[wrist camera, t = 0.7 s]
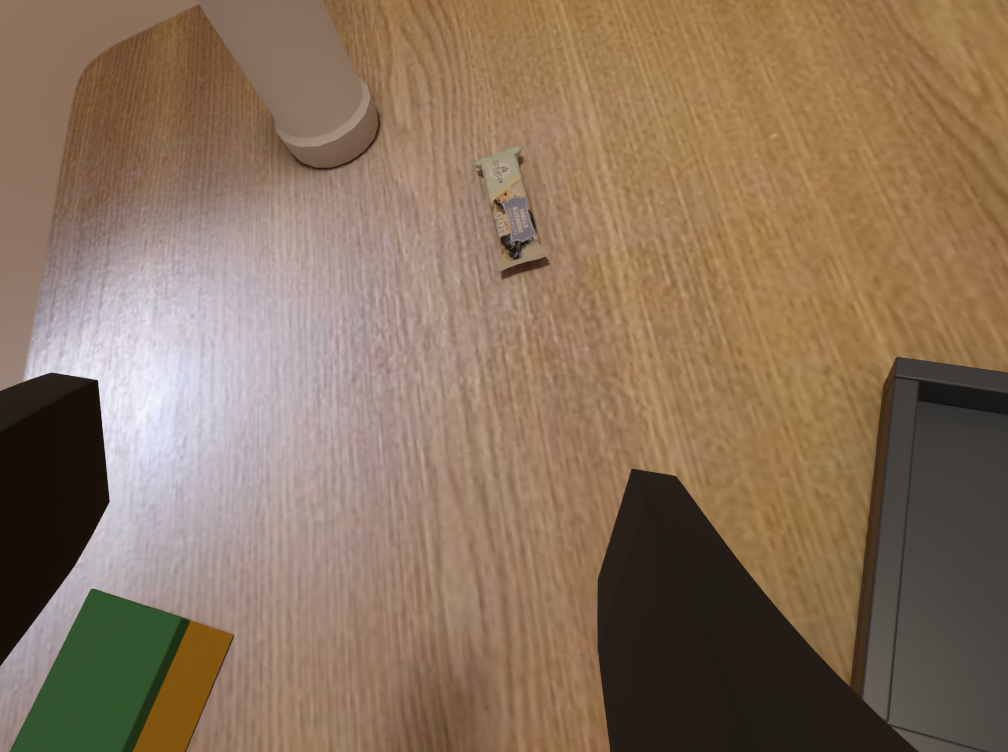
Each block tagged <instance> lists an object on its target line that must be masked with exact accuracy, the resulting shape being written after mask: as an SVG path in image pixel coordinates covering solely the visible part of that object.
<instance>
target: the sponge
mask: <svg viewBox="0 0 1008 752" xmlns="http://www.w3.org/2000/svg"><path fill="white" fill-rule="evenodd" d="M232 637H233V635H232V634H229V633H227V632H224V631H221V630H218V629H215V628H212V627H209V626H206V625H203V624H200V623H197V622H194V621H191V620H189V619H186V618H183V617H180V616H177V615H173V614H170V613H167V612H164V611H161V610H158V609H155V608H152V607H149V606H145V605H142V604H139V603H136V602H133V601H130V600H127V599H124V598H121V597H117V596H114V595H111V594H108V593H105V592H102V591H99V590H96V589H91V590H90V592H89V594H88V596H87V598H86V600H85V602H84V604H83V606H82V608H81V610H80V612H79V614H78V616H77V618H76V620H75V622H74V624H73V626H72V628H71V630H70V632H69V634H68V636H67V638H66V640H65V642H64V644H63V646H62V648H61V650H60V652H59V654H58V656H57V658H56V660H55V662H54V664H53V666H52V668H51V670H50V672H49V674H48V676H47V678H46V680H45V682H44V684H43V686H42V688H41V690H40V692H39V694H38V696H37V698H36V700H35V702H34V704H33V706H32V708H31V710H30V712H29V714H28V716H27V718H26V720H25V722H24V724H23V726H22V728H21V730H20V732H19V734H18V736H17V738H16V740H15V742H14V744H13V746H12V748H11V750H10V752H185V750H186V747H187V745H188V743H189V740H190V738H191V735H192V733H193V731H194V728H195V726H196V723H197V721H198V719H199V716H200V714H201V712H202V709H203V707H204V704H205V702H206V700H207V697H208V695H209V692H210V690H211V688H212V685H213V683H214V680H215V678H216V676H217V673H218V671H219V668H220V666H221V664H222V661H223V659H224V656H225V654H226V652H227V649H228V647H229V644H230V642H231V640H232Z"/></svg>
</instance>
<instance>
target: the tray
mask: <svg viewBox="0 0 1008 752" xmlns="http://www.w3.org/2000/svg"><path fill="white" fill-rule="evenodd" d="M851 688H852V689H853V690H854V691H855V692H856V693H857V694H858V695H859V696H860V697H861V698H862V699H863V700H864V701H865V702H866V703H867V704H868V705H869V706H870V707H871V708H872V709H873V710H874V711H875V712H876V713H877V714H878V715H879V716H880V717H881V718H882V719H883V720H884V721H885V722H887V723H888V724H889V725H890V726H891V727H892V728H893V729H894V730H895V731H896V732H898V733H899V734H900V735H901V736H902V737H903V738H904V739H905V740H906V741H907V742H909V743H910V744H911V745H912V746H913V747H914V748H915V749H917V750H918V751H919V752H1008V373H1007V372H1000V371H993V370H986V369H979V368H972V367H965V366H958V365H951V364H944V363H937V362H930V361H923V360H916V359H909V358H902V357H897V358H896V359H895V361H894V364H893V366H892V368H891V370H890V372H889V375H888V377H887V379H886V381H885V383H884V389H883V398H882V407H881V416H880V425H879V434H878V443H877V453H876V462H875V471H874V480H873V489H872V498H871V507H870V516H869V526H868V535H867V544H866V553H865V562H864V571H863V580H862V589H861V598H860V608H859V617H858V626H857V635H856V644H855V653H854V662H853V671H852V681H851Z"/></svg>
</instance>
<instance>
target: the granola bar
mask: <svg viewBox="0 0 1008 752" xmlns="http://www.w3.org/2000/svg"><path fill="white" fill-rule="evenodd" d="M520 152H521V147H520V146H514V147H511V148H509V149H506V150H504V151H502V152H500V153H499V154H497V155H494V156H490V157H485V158H482V159H479V160H476V161H474V163H475V166H476V167H477V168H479V169H480V170H482V172H483V176H484V180H485V185H486V189H487V193H488V197H489V201H490V206H491V210H492V214H493V218H494V222H495V227H496V231H497V235H498V239H499V243H500V247H501V251H502V255H503V256H502V257H501V259H500V260H499V262H498V270H499V272H500V271H502V270H505V269H507V268H509V267H511V266H514V265H517V264H520V263H524V262H528V261H532V260H537V259H540V258H543V257H545V256H547V253H546V249H545V248H544V247H542V246H541V244H540V240H539V236H538V232H537V229H536V225H535V221H534V218H533V214H532V210H531V207H530V203H529V199H528V195H527V192H526V188H525V184H524V181H523V177H522V173H521V170H520V166H519V163H518V158H519V155H520Z"/></svg>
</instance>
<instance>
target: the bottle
mask: <svg viewBox="0 0 1008 752" xmlns="http://www.w3.org/2000/svg"><path fill="white" fill-rule="evenodd" d="M196 1H197V2H198V4H199V5H200V7H201V8H202V10H203V11H204V13H205V14H206V16H207V18H208V19H209V21H210V22H211V24H212V25H213V27H214V28H215V30H216V31H217V33H218V34H219V36H220V37H221V39H222V40H223V42H224V43H225V45H226V46H227V48H228V49H229V51H230V52H231V54H232V55H233V57H234V58H235V60H236V61H237V63H238V65H239V66H240V68H241V69H242V71H243V72H244V74H245V75H246V77H247V78H248V80H249V81H250V83H251V84H252V86H253V87H254V89H255V90H256V92H257V93H258V95H259V96H260V98H261V99H262V101H263V102H264V104H265V105H266V107H267V109H268V110H269V112H270V113H271V115H272V116H273V118H274V122H275V131H276V133H277V134H278V136H279V137H280V138H281V140H282V141H283V143H284V144H285V145H286V146H287V147H288V149H289V150H290V151H291V152H292V153H293V155H294V156H295V157H296V158H297V159H298V160H299V161H301V162H302V163H304V164H307V165H310V166H312V167H315V168H329V167H335V166H338V165H341V164H344V163H347V162H350V161H351V160H352V159H354V158H355V157H357V156H358V155H360V154H361V153H363V152H364V151H365V150H366V148H367V147H368V146H369V145H370V143H371V142H372V141H373V140H374V138H375V135H376V131H377V128H378V117H377V112H376V107H375V103H374V99H373V97H372V94H371V92H370V89H369V87H368V85H367V84H366V83H365V82H364V81H363V80H362V79H361V78H360V77H359V76H358V75H357V74H356V72H355V70H354V68H353V65H352V63H351V61H350V59H349V56H348V54H347V52H346V50H345V47H344V45H343V43H342V41H341V38H340V36H339V34H338V32H337V29H336V27H335V25H334V23H333V20H332V18H331V16H330V14H329V12H328V9H327V7H326V5H325V3H324V0H196Z"/></svg>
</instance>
